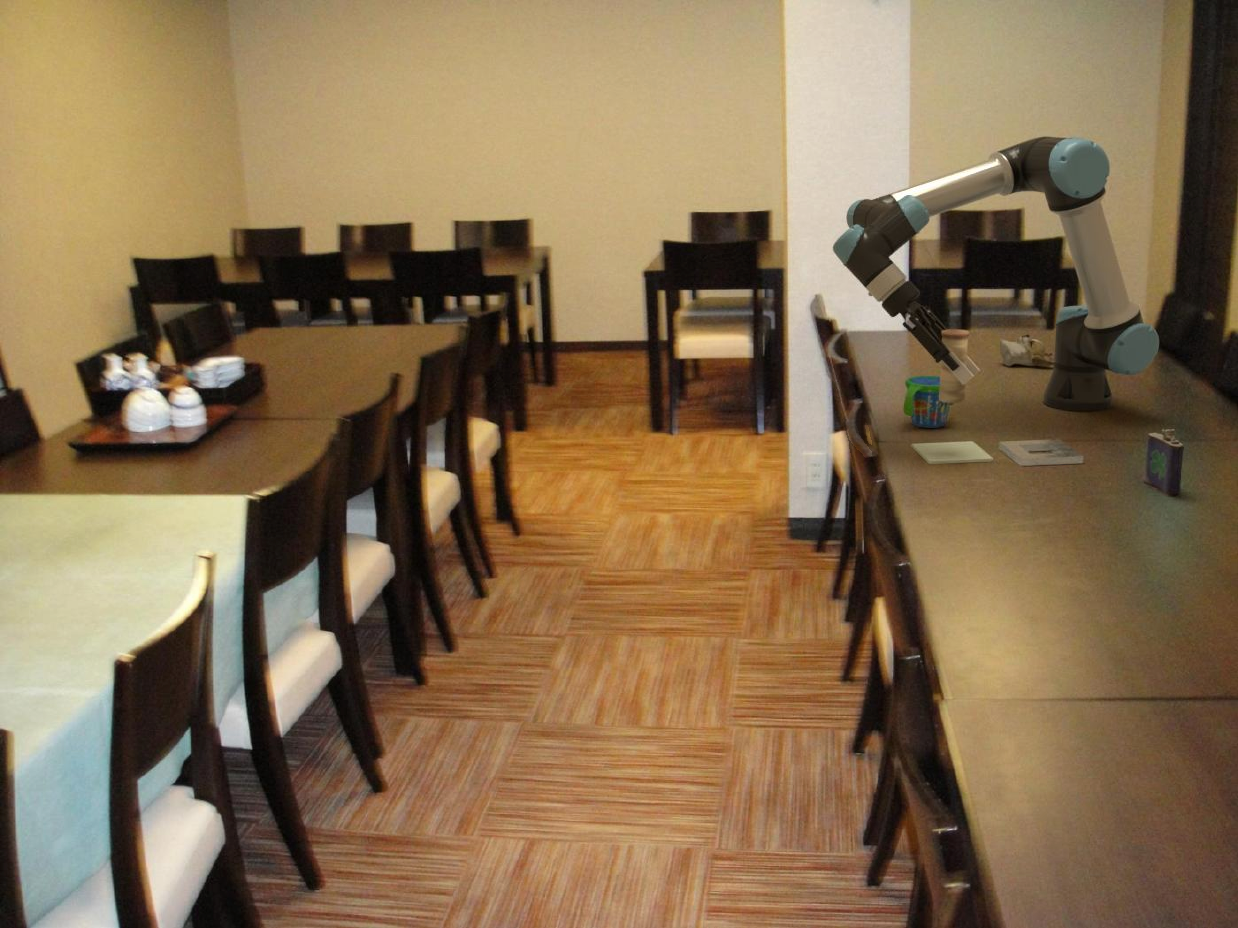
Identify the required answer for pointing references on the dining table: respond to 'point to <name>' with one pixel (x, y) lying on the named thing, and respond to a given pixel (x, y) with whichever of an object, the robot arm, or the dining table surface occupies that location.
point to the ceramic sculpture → (1025, 352)
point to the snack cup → (925, 402)
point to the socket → (1057, 447)
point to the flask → (1164, 463)
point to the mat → (951, 452)
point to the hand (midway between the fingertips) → (971, 377)
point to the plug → (949, 384)
